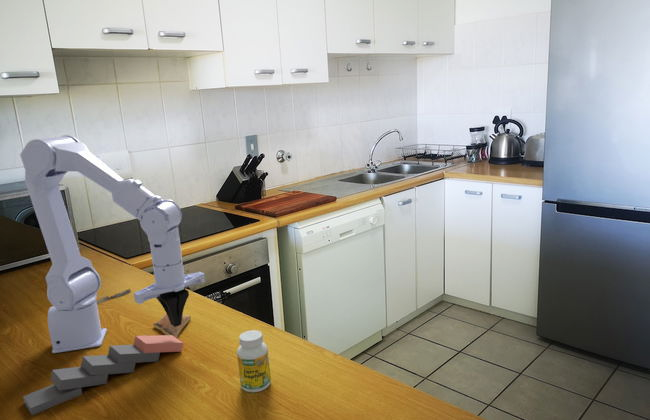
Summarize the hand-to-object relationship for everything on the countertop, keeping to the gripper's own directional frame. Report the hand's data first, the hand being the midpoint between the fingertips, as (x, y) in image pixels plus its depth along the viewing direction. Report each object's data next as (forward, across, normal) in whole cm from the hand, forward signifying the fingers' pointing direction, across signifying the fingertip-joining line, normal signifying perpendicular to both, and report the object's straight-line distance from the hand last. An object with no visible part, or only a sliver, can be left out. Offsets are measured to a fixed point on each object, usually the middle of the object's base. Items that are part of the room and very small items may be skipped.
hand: (175, 324), depth 102 cm
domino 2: (+4, -16, 0) cm, 16 cm away
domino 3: (+4, -10, 0) cm, 11 cm away
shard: (+6, +4, +8) cm, 11 cm away
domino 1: (+4, -20, 0) cm, 21 cm away
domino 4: (+4, -5, 0) cm, 7 cm away
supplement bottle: (+5, +2, -24) cm, 24 cm away
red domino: (+4, 0, 0) cm, 4 cm away
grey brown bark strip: (+6, 0, +38) cm, 39 cm away
